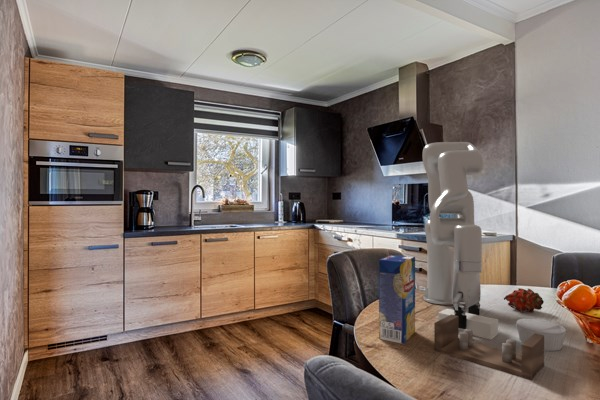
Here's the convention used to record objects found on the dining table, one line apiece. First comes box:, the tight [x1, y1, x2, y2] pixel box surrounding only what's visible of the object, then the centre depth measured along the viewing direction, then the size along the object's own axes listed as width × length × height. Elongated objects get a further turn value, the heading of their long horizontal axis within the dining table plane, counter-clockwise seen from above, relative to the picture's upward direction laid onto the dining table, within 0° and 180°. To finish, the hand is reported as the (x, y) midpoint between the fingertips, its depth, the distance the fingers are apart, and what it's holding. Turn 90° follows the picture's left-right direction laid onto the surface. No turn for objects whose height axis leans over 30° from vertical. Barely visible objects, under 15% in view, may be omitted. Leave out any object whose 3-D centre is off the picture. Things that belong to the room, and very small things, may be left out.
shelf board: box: [438, 308, 499, 341], centre depth 111 cm, size 15×6×4 cm, turn 45°
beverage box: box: [378, 254, 416, 345], centre depth 106 cm, size 7×11×22 cm, turn 147°
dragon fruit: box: [503, 288, 545, 313], centre depth 130 cm, size 8×8×12 cm
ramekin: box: [515, 318, 567, 352], centre depth 100 cm, size 11×11×5 cm
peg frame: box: [433, 315, 545, 381], centre depth 92 cm, size 22×10×7 cm, turn 44°
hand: (467, 324), depth 111 cm, fingers open, 9 cm apart
